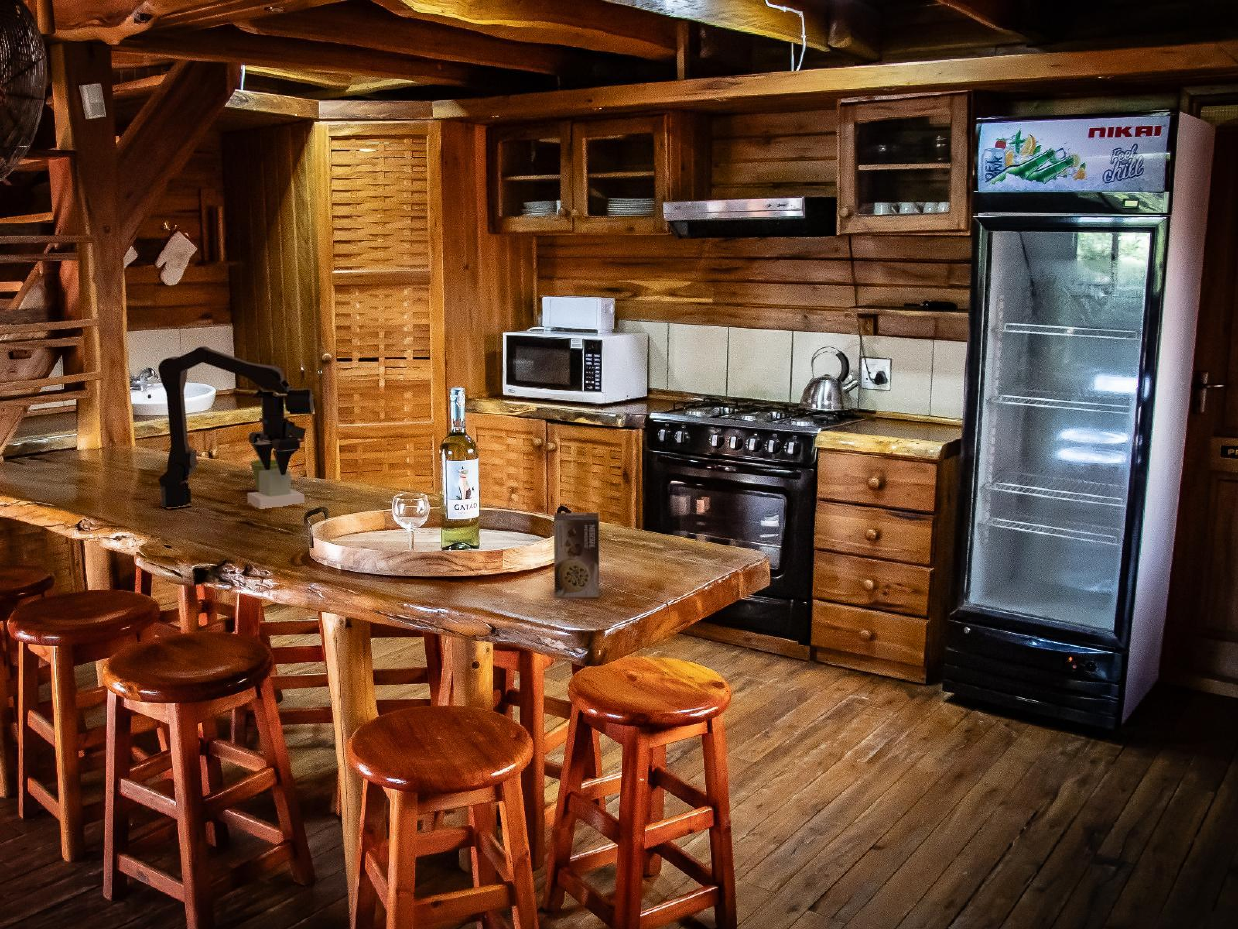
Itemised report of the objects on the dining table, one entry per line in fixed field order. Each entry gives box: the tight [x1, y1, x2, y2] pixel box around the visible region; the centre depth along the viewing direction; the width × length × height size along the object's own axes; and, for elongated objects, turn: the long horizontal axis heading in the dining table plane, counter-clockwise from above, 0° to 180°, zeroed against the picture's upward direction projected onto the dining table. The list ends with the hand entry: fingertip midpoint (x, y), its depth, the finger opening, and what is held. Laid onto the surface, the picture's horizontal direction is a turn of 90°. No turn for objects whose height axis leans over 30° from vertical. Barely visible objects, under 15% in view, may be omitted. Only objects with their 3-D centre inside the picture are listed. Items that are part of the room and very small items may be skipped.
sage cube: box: [259, 469, 292, 496], centre depth 318 cm, size 6×6×6 cm
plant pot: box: [249, 459, 279, 490], centre depth 337 cm, size 9×9×9 cm
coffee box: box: [553, 512, 600, 599], centre depth 239 cm, size 9×6×16 cm
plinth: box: [247, 488, 306, 509], centre depth 319 cm, size 12×10×4 cm
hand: (275, 472), depth 318 cm, fingers open, 9 cm apart
